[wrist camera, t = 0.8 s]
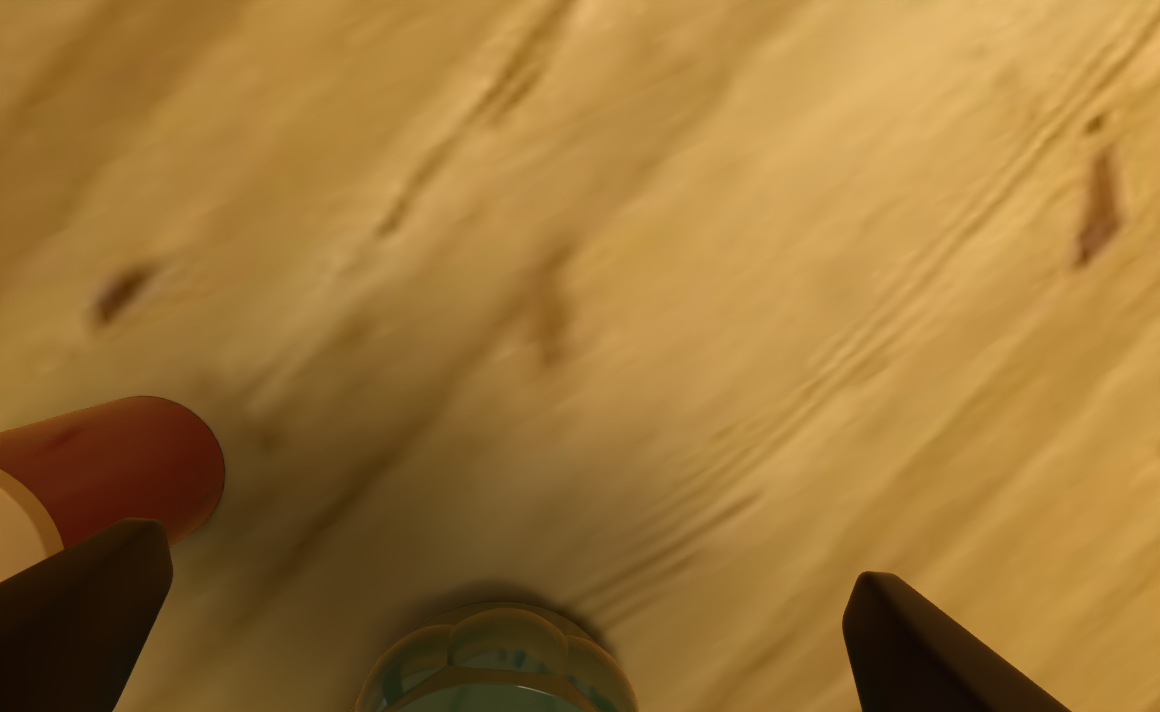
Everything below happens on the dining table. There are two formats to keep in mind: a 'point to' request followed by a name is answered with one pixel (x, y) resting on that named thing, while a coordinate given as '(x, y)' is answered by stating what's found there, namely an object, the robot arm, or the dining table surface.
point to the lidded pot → (497, 666)
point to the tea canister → (104, 476)
